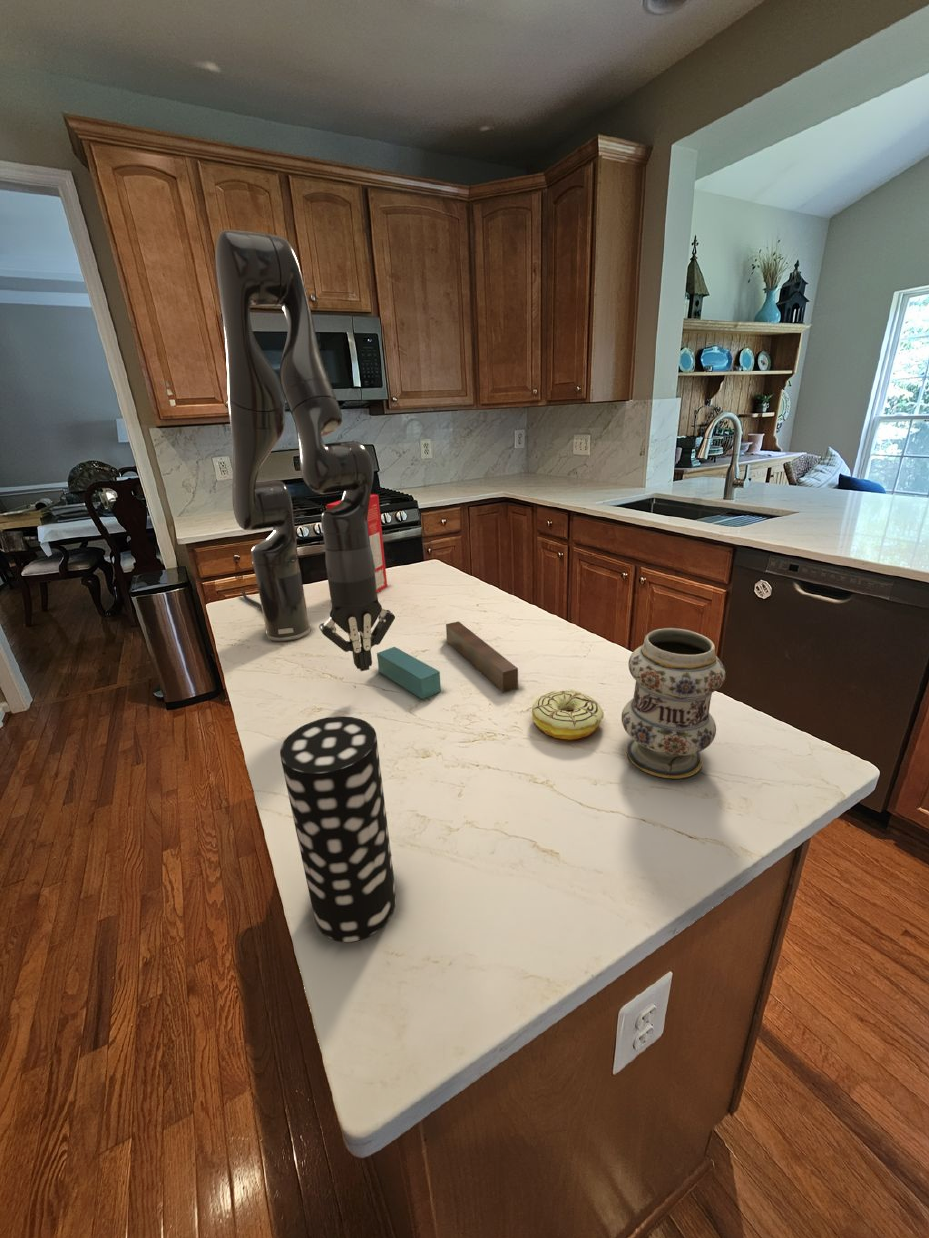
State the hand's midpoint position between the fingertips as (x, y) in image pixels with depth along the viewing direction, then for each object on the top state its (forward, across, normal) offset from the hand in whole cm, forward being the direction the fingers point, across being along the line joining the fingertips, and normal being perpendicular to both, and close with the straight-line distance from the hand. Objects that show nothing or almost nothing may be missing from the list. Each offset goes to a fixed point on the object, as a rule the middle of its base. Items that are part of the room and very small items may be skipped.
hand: (363, 668), depth 92 cm
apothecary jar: (+6, -32, +38) cm, 50 cm away
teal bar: (+5, -8, 0) cm, 9 cm away
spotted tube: (+5, +13, +41) cm, 43 cm away
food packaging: (+5, -14, -50) cm, 52 cm away
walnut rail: (+5, -22, 0) cm, 23 cm away
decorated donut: (+5, -25, +25) cm, 36 cm away
